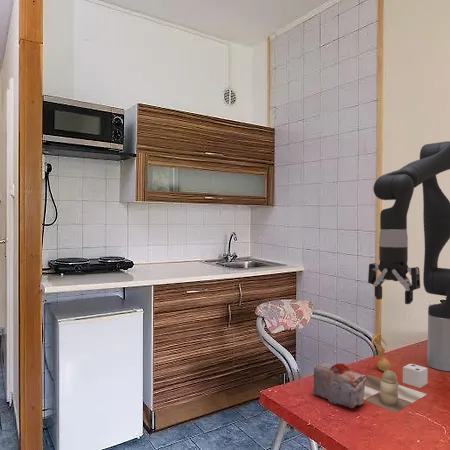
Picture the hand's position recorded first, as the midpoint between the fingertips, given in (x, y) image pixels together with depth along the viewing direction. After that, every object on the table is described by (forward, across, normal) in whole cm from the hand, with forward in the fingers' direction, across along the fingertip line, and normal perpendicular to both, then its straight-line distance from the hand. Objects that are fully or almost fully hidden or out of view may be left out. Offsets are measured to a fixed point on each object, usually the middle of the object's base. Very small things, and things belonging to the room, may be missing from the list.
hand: (393, 301), depth 113 cm
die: (+26, -2, -10) cm, 28 cm away
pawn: (+25, -3, +9) cm, 27 cm away
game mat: (+26, +1, +4) cm, 26 cm away
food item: (+26, +6, +18) cm, 32 cm away
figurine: (+26, +10, -12) cm, 30 cm away
